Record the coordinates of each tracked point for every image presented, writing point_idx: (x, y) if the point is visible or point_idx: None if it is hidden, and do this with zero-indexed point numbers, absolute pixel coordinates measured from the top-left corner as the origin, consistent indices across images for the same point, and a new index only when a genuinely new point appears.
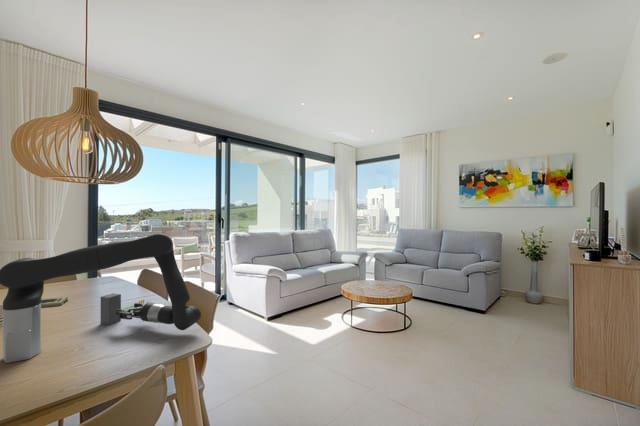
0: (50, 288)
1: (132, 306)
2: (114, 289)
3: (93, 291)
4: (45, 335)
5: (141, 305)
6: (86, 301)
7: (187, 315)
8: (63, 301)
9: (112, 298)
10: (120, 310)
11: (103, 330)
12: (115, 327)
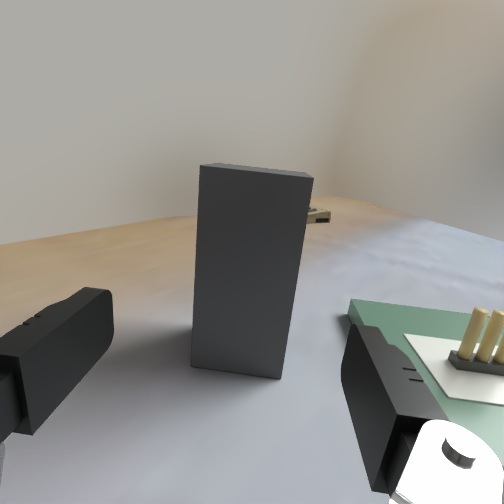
0: (352, 204)
1: (436, 317)
2: (448, 237)
3: (399, 225)
4: (86, 261)
5: (404, 454)
6: (353, 234)
7: None
8: (314, 216)
9: (232, 184)
10: (31, 328)
11: (89, 393)
12: (146, 434)
